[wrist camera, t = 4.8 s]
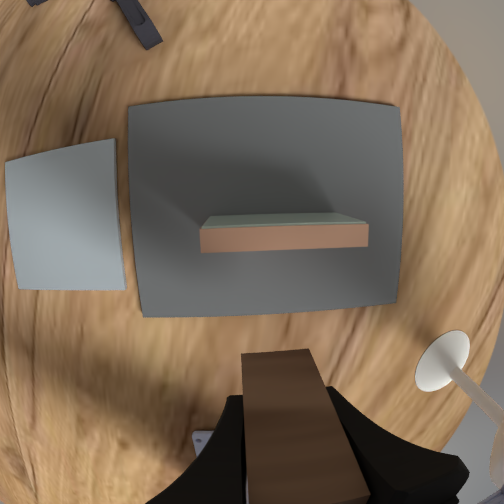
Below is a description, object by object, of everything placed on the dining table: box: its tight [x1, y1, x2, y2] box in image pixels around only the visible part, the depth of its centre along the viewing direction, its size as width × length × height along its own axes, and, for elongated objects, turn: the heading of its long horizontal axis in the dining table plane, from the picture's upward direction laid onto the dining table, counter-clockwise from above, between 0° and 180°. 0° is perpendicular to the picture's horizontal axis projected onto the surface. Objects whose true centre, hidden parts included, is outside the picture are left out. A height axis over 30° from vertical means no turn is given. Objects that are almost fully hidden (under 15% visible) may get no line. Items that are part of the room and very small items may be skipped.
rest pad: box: [5, 138, 127, 290], centre depth 18 cm, size 10×10×1 cm
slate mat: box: [128, 96, 403, 317], centre depth 19 cm, size 14×18×1 cm
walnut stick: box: [241, 349, 371, 504], centre depth 9 cm, size 3×3×8 cm
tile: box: [199, 212, 369, 253], centre depth 16 cm, size 1×8×5 cm, turn 91°
